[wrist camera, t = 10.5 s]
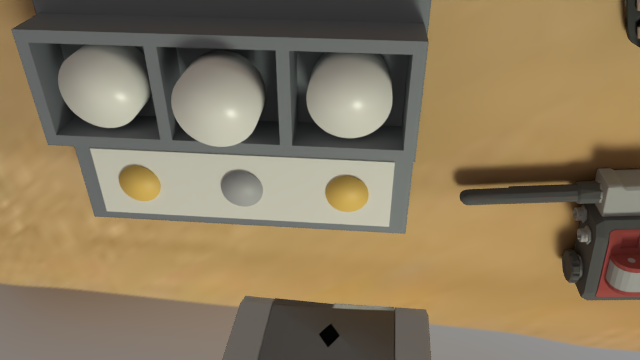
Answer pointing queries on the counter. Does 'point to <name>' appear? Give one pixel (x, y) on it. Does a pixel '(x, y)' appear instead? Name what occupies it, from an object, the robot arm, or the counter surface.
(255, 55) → the pattern board
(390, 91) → the button
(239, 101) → the middle button
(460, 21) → the counter surface
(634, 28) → the battery charger
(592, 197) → the walkie-talkie
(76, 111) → the button
